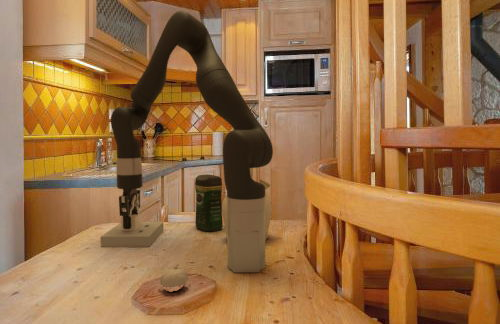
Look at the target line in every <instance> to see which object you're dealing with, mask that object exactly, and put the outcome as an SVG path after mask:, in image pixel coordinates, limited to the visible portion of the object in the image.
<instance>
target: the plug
mask: <svg viewBox="0 0 500 324" xmlns="http://www.w3.org/2000/svg"><path fill="white" fill-rule="evenodd" d="M140 222H141V215H140V214H138V215H131V228H130V229H124V228H123V217H122V216H120V223H121V231H136V230H137V229H138V228H140Z"/></svg>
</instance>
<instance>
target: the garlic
mask: <svg viewBox="0 0 500 324" xmlns="http://www.w3.org/2000/svg"><path fill="white" fill-rule="evenodd" d="M178 267H179V264H178V263H175V265H174V266H173V267H171V268H168V269H166V270H165V271H164V272H163V273H162V275H161V276H160V280H159V282H160V283H159V284H160V286H161V285H163V287H166V288H167V287H175V286H181V285H184V284H185V283H186V284H187V282H188V278H189V275H188V271H187V270H185V269H183V268H178ZM186 281H187V282H186ZM186 284H185V285H186ZM163 287H162V288H163Z"/></svg>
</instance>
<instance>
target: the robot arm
mask: <svg viewBox="0 0 500 324" xmlns="http://www.w3.org/2000/svg"><path fill="white" fill-rule="evenodd" d="M176 47H179V48H180V49H183V50H184V51H185V52H187V53H188V54H189V55H190V57H191V59H192V60H193V62H194V64H195V66H196V73H195V84H196V86H197V88H198V90H199V93H200V95H201V97H202V98H203V102H205V104H206V105H207V106H208V107H209V108H210V109H211V110H212V111H213V112H214V113H215V114H217V116H219V117H221V118H222V119H223V120H224V121H226V122H227V123H228V124H229V125H230V126H231V127H232V129H233V130H231V131H229V132H227V134H226V135H225V138H224V140H223V143H222V164H223V178H224V179H223V180H224V185H225V190H226V189H227V190H226V195H227V234H226V238H227V239H226V240H227V246H226V247H227V268H228V269H229V270H231V271H232V272H233V273H260V271H261V270H263V269H265V267H266V240H265V192H266V190H265V186H264V185H263V184H261V183H259V182H258V181H256V180H254V178H253V177H252V178H251V174H250V168H253V169H257V168H263V167H265V166H268V164H270V163H271V161H272V159H273V155H274V149H273V144H272V141H271V139H270V136H269V135H268V133H267V132H266V130H265V128H264V127H263V126H262V125H261V123H260V122H259V120H258V119H257V118H256V116H255V115H254V113H253V111H252V110H251V109H250V108H249V106H248V104H247V103H246V100H245V98H244V97H243V95H242V94H241V92H240V90H239V89H238V86H237V85H236V82H235V80H234V79H233V77H232V76H231V73H230V72H229V70H228V69H227V67H226V66H225V63H224V62H223V60H222V58H221V57H220V55H219V54H218V52H217V50H216V48H215V45H214V43H213V40H212V37H211V35H210V33H209V30H208V28H207V27H206V25H205V24H204V23H203V22H201V21H200V20H199V19H197V17H195V16H193V15H192V14H191V13H189V12H187V11H185V10H177V11H176V12H175V13H173V14H172V15H171V16H170V18H169V19H168V20H167V22H166V24H165V26H164V28H163V31H162V32H161V35H160V36H159V39H158V42H157V43H156V46H155V49H154V51H153V53H152V55H151V57H150V60H149V62H148V64H147V66H146V67H145V70H144V71H143V72H142V75H141V77H140V78H139V79H138V80H137V82H136V84H135V85H134V87H133V88H132V90H131V91H130V96H129V97H130V99H131V101H132V103H131V105H130V106H129V107H128V106H118V107H116V108H115V109H114V110H113V111H112V113H111V117H110V125H111V130H112V132H113V137H114V141H115V144H116V165H115V166H116V168H115V169H116V187H117V189H119V190H122V195H119V196H118V206H119V209H118V210H119V217H123V228H124V229H130V228H131V215H139V210H140V209H141V190H140V189H141V188H143V162H142V151H141V149H142V148H141V147H142V146H141V141H140V140H139V139H138V138H135V135H134V132H133V131H137V130H139V129H141V128H142V127H143V126H144V124H145V123H146V122H147V120H148V117H149V114H150V112H151V109H152V105H153V104H154V103H155V101H156V100H157V98H158V97H159V95H160V94H161V92H162V90H163V89H164V86H165V84H166V79H167V74H168V73H167V70H168V63H169V59H170V58H171V55H172V53H173V51H174V50H175V48H176Z"/></svg>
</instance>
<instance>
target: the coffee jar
mask: <svg viewBox="0 0 500 324" xmlns="http://www.w3.org/2000/svg"><path fill="white" fill-rule="evenodd" d="M222 180H223V179H222V177H220V176H219V175H213V174H208V173H207V174H206V173H205V174H198V175H197V176H196V178H195V181H194V189H195V228H196V229H197V230H198V229H199V230H201V231H204V232H209V231H211V232H216V231H219V230H221V229H222V228H223V226H224V220H223V214H222V204H223V201H222V190H223V181H222Z"/></svg>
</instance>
